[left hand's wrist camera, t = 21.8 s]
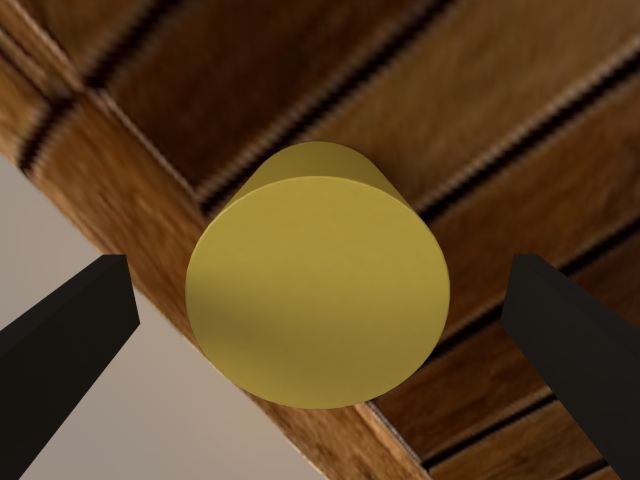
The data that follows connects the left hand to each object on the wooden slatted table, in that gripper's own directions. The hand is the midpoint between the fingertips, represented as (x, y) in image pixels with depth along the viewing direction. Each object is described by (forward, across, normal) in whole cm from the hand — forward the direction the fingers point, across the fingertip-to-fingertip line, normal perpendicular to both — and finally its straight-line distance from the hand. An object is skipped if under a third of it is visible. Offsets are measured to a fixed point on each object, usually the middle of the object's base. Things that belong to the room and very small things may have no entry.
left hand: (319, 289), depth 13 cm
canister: (+9, 0, -1) cm, 9 cm away
